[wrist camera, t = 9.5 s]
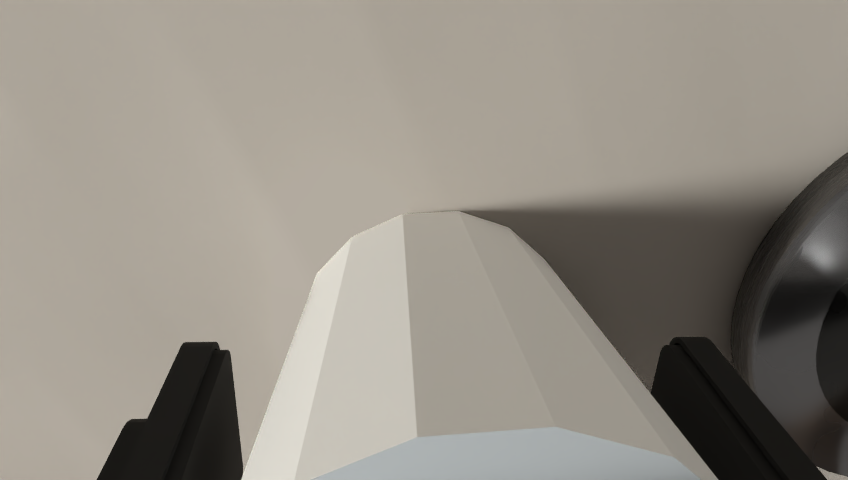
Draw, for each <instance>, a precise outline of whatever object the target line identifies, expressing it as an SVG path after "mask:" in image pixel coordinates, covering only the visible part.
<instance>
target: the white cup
mask: <svg viewBox="0 0 848 480" xmlns="http://www.w3.org/2000/svg"><path fill="white" fill-rule="evenodd" d="M241 480H718V479H717V477H716V476H715V475H714V474H713V472H712V471H711V470H710V468H709V467H708V466H707V465H706V463H705V462H704V461H703V460H702V458H701V457H700V456H699V455H698V453H697V452H696V451H695V449H694V448H693V447H692V446H691V444H690V443H689V442H688V441H687V439H686V438H685V437H684V436H683V434H682V433H681V432H680V430H679V429H678V428H677V427H676V425H675V424H674V423H673V422H672V420H671V419H670V418H669V416H668V415H667V414H666V413H665V411H664V410H663V409H662V408H661V406H660V405H659V404H658V403H657V401H656V400H655V399H654V397H653V396H652V395H651V394H650V392H649V391H648V390H647V389H646V387H645V386H644V385H643V383H642V382H641V381H640V380H639V378H638V377H637V376H636V375H635V373H634V372H633V371H632V370H631V368H630V367H629V366H628V364H627V363H626V362H625V361H624V359H623V358H622V357H621V356H620V354H619V353H618V352H617V351H616V349H615V348H614V347H613V345H612V344H611V343H610V342H609V340H608V339H607V338H606V337H605V335H604V334H603V333H602V331H601V330H600V329H599V328H598V326H597V325H596V324H595V323H594V321H593V320H592V319H591V318H590V316H589V315H588V314H587V312H586V311H585V310H584V309H583V307H582V306H581V305H580V304H579V302H578V301H577V300H576V298H575V297H574V296H573V295H572V293H571V292H570V291H569V290H568V288H567V287H566V286H565V285H564V283H563V282H562V281H561V279H560V278H559V277H558V276H557V274H556V273H555V272H554V271H553V269H552V268H551V267H550V266H549V264H548V263H547V262H546V260H545V259H544V258H543V257H541V256H540V255H539V254H538V253H537V252H536V251H535V250H534V249H532V248H531V247H530V246H529V245H528V244H527V243H526V242H525V241H523V240H522V239H521V238H520V237H519V236H518V235H517V234H515V233H514V232H513V231H512V230H511V229H510V228H509V227H506V226H503V225H500V224H497V223H494V222H491V221H488V220H485V219H482V218H478V217H475V216H472V215H469V214H466V213H463V212H460V211H446V212H429V213H411V214H401V215H399V216H397V217H395V218H392V219H390V220H388V221H386V222H383V223H381V224H379V225H377V226H374V227H372V228H370V229H368V230H365V231H363V232H361V233H359V234H357V235H354V236H352V237H351V238H350V239H349V240H348V241H347V242H346V243H345V245H344V246H343V247H342V248H341V249H340V250H339V251H338V252H337V253H336V254H335V255H334V256H333V257H332V258H331V259H330V260H329V261H328V262H327V263H326V264H325V265H324V266H323V267H322V268H321V270H320V271H319V272H318V273H317V274H316V277H315V280H314V283H313V285H312V288H311V291H310V293H309V296H308V299H307V302H306V304H305V307H304V310H303V313H302V315H301V318H300V321H299V323H298V326H297V329H296V332H295V334H294V337H293V340H292V342H291V345H290V348H289V351H288V353H287V356H286V359H285V362H284V364H283V367H282V370H281V372H280V375H279V378H278V381H277V383H276V386H275V389H274V392H273V394H272V397H271V400H270V402H269V405H268V408H267V411H266V413H265V416H264V419H263V422H262V424H261V427H260V430H259V432H258V435H257V438H256V441H255V443H254V446H253V449H252V452H251V454H250V457H249V460H248V462H247V465H246V468H245V471H244V473H243V476H242V479H241Z"/></svg>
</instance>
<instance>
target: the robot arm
mask: <svg viewBox="0 0 848 480" xmlns="http://www.w3.org/2000/svg"><path fill="white" fill-rule="evenodd" d="M651 395H652V396H653V397H654V399H655V400H656V401H657V403H658V404H659V405H660V406H661V408H662V409H663V410H664V411H665V413H666V414H667V415H668V416H669V418H670V419H671V420H672V422H673V423H674V424H675V425H676V427H677V428H678V429H679V430H680V432H681V433H682V434H683V436H684V437H685V438H686V439H687V441H688V442H689V443H690V444H691V446H692V447H693V448H694V449H695V451H696V452H697V453H698V455H699V456H700V457H701V458H702V460H703V461H704V462H705V463H706V465H707V466H708V467H709V468H710V470H711V471H712V472H713V474H714V475H715V476H716V477H717V479H718V480H827V479H826V478H825V477H824V475H823V474H822V473H821V472H820V471H819V469H818V468H817V467H816V466H815V465H814V463H813V462H812V461H811V460H810V459H809V458H808V456H807V455H806V454H805V453H804V452H803V450H802V449H801V448H800V447H799V446H798V444H797V443H796V442H795V441H794V440H793V438H792V437H791V436H790V435H789V434H788V432H787V431H786V430H785V429H784V428H783V427H782V425H781V424H780V423H779V422H778V421H777V419H776V418H775V417H774V416H773V415H772V413H771V412H770V411H769V410H768V409H767V407H766V406H765V405H764V404H763V403H762V401H761V400H760V399H759V398H758V397H757V395H756V394H755V393H754V392H753V391H752V390H751V388H750V387H749V386H748V385H747V384H746V382H745V381H744V380H743V379H742V378H741V376H740V375H739V374H738V373H737V372H736V370H735V369H734V368H733V367H732V366H731V364H730V363H729V362H728V361H727V360H726V359H725V357H724V356H723V355H722V354H721V353H720V351H719V350H718V349H717V348H716V347H715V345H714V344H713V343H712V342H711V341H710V340H709V339H708V338H706V337H676V338H673V339H672V341H671V342H670V345H665V346H663V348H662V350H661V352H660V357H659V361H658V365H657V369H656V373H655V378H654V382H653V386H652V390H651ZM242 476H243V462H242V453H241V444H240V435H239V426H238V417H237V408H236V399H235V390H234V381H233V372H232V363H231V355H230V352H229V350H220V348H219V345H218V343H217V342H185V343H183V344H182V346H181V348H180V350H179V352H178V354H177V356H176V358H175V361H174V363H173V365H172V367H171V369H170V371H169V373H168V376H167V378H166V380H165V382H164V384H163V386H162V388H161V391H160V393H159V395H158V397H157V399H156V401H155V404H154V406H153V408H152V410H151V412H150V414H149V416H148V419H131V420H130V421H128V422H127V423H126V424H125V426H124V427H123V429H122V431H121V433H120V435H119V437H118V439H117V441H116V443H115V445H114V447H113V449H112V451H111V453H110V455H109V457H108V459H107V461H106V463H105V465H104V467H103V468H102V470H101V472H100V474H99V476H98V478H97V480H241V479H242Z"/></svg>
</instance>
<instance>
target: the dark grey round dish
mask: <svg viewBox="0 0 848 480" xmlns="http://www.w3.org/2000/svg"><path fill="white" fill-rule="evenodd" d="M731 346H732V356H733V363H734V367H735V370H736V372H737V373H738V374H739V375H740V376H741V378H742V379H743V380H744V381H745V382H746V384H747V385H748V386H749V387H750V388H751V390H752V391H753V392H754V393H755V394H756V395H757V397H758V398H759V399H760V400H761V401H762V403H763V404H764V405H765V406H766V407H767V409H768V410H769V411H770V412H771V413H772V415H773V416H774V417H775V418H776V419H777V421H778V422H779V423H780V424H781V425H782V427H783V428H784V429H785V430H786V431H787V432H788V434H789V435H790V436H791V437H792V438H793V440H794V441H795V442H796V443H797V444H798V446H799V447H800V448H801V449H802V450H803V452H804V453H805V454H806V455H807V456H808V458H809V459H810V460H811V461H812V462H813V463H814V465H815V466H817V467H820V468H822V469H824V470H827V471H829V472H833V473H836V474H840V475H844V476H847V477H848V153H846V154H845V155H844V156H842V157H841V158H839V159H838V160H837V161H836V162H835V163H833V164H832V165H831V166H830V167H829V168H827V169H826V170H825V171H824V172H822V173H821V174H820V175H819V176H818V177H816V178H815V179H814V180H813V181H812V182H811V183H810V184H809V185H808V186H807V187H806V188H805V189H804V190H803V191H802V192H801V193H800V194H799V195H798V196H797V197H796V198H795V199H794V200H793V202H792V203H791V204H790V205H789V206H788V208H787V209H786V210H785V211H784V213H783V214H782V215H781V216H780V218H779V219H778V220H777V221H776V222H775V224H774V225H773V227H772V228H771V230H770V231H769V233H768V234H767V236H766V237H765V239H764V240H763V242H762V243H761V245H760V247H759V248H758V250H757V252H756V254H755V256H754V258H753V260H752V262H751V264H750V266H749V268H748V270H747V272H746V274H745V277H744V280H743V282H742V285H741V288H740V291H739V294H738V296H737V301H736V305H735V310H734V315H733V320H732V335H731Z"/></svg>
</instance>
